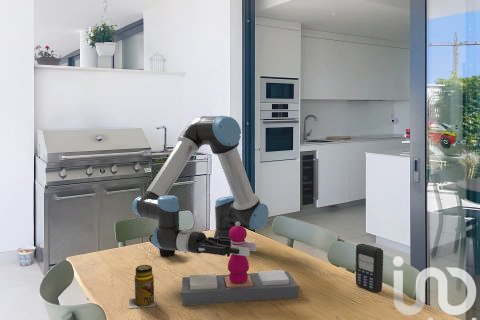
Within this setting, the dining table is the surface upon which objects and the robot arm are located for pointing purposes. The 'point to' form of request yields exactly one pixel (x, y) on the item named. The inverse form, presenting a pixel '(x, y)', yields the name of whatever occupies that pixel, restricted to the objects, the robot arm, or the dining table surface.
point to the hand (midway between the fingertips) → (252, 249)
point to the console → (238, 291)
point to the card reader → (369, 267)
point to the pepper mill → (238, 262)
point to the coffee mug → (164, 251)
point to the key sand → (203, 282)
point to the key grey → (273, 277)
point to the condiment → (143, 288)
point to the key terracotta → (234, 284)
